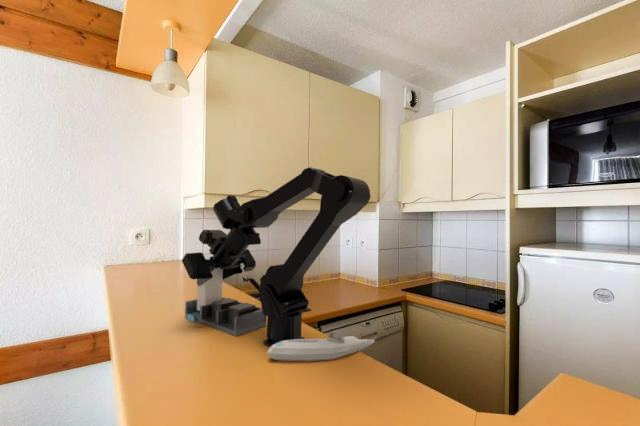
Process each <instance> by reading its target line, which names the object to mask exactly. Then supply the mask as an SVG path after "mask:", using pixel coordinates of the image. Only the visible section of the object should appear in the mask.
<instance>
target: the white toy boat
mask: <svg viewBox="0 0 640 426" xmlns="http://www.w3.org/2000/svg"><path fill="white" fill-rule="evenodd" d="M334 334H335V335H337V336H333V335H334ZM375 342H376V340H375V339H365V338H364V339H359V338H358V337H356V336H353V335H352V336H351V335H350V336H343V335H342V333H341V332H340V331H339V330H332V331H331V332H329V335H328V337H326V338H305V339H292V340H284V341H281V342H278V343H276V344H273V345H272V346H270V347H268V348H269V349H268V350H267V351H266V353H267V354H268V356H269V358H271V359H272V360H276V361H279V362H317V361H330V360H331V361H332V360H335V359H339V358H342V357H346V356H348V355H351V354H353V353H356V352H359V351H361V350H363V349H366V348H368V347H370V346H372V345H373V344H375Z"/></svg>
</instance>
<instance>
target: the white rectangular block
mask: <svg viewBox="0 0 640 426" xmlns="http://www.w3.org/2000/svg"><path fill="white" fill-rule="evenodd" d="M211 274H212V276H213V278H211V279H210V280H208V281H206V282H205V283H203V284H202V285H200V286H198V285H197V289H196V290H197V293H196V299H197V310H199V311H200V306H203V305H208V304H212V302H214V301H218V300H222V297H223V281H224V280H223V269H220V268H217V269H214V270H213V271H212V272H211Z"/></svg>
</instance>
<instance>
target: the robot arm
mask: <svg viewBox="0 0 640 426" xmlns="http://www.w3.org/2000/svg"><path fill="white" fill-rule="evenodd" d="M315 193H317V194H318V195H320V196H321V197H320V203H319V204H320V205H319V212H318V214H317V215H316V216H315V218H314V219H313V220H312V222H311V224H310V225H309V227H308V228H307V229H306V231H305V232H304V233H303V235H302V236H301V238H300V240H299V241H298V243H296V246H295V247H294V248H293V250H292V252H290V255H288V257H287V259H286V260H285V262H284V263H282V264H276V265H270V266H269V267H268V268H267V269H266V272H265V274H264V275H263V277H261V278H260V279H259V280H260V281H261V282H260V283H259V287H258V296H259V300H260V306H261V308H262V311H263V315H266V317H267V318H266V339H264V340H263V345H268V346H270V347H271V346H272V345H273V344H276V343H278V342H281V341H284V340H292V339H306V337H305V336H302V321H303V320H302V318H303V316H302V314H303V313H302V312H305V311H307V310H308V307H309V300H308V298H307V296H306V294H305V293H304V291H303V290H302V288H304V287H303V286H304V278H305V277H304V276H305V275H306V273H307V271H309V269H310V268H311V266H312V265H313V264H314V262H315V261H316V259H317V258H318V256H319V255H320V254H321V252H322V251H323V250H324V248H325V247H326V246H327V245H328V243H329V242H330V241H331V240H332V237H334V235H335V233H336V232H337V231H338V230H339V229H340V227H341V225H343V224H344V223H346V222H348V221H349V220H351V219H352V218H353V217H355V216H356V215H357V214H358V213H359V212H361V211H362V209H363V208H365V207H366V206H367V205H368V203H369V202H370V200H371V191H370V186H369V185H368V183H367V182H366V181H365V180H364V179H359V178H355V177H352V176H348V175H342V174H340V175H333V174H331V173H329V172H326V171H325V170H323V169H320V168H315V167H307V168H304V169H303V170H302V171H301V173H299V174H298V175H297V176H295V177H293V178H292V179H290V180H289V181H287V182H286V183H284V184H282V186H280V187H278V188H276V189H275V190H274V191H272V192H271V193H269V194H268V195H266V196H262V197H260V198H254V199H251V200H249V201H246V202H243V203H242V204H241V205H240V203H239V200H238V198H237V197H236V195H233V194H231V195H230V194H229V195H227V196H226V198H223V199H220V200H219V201H217V202H215V203H214V205H213V207H212V208H213V209H212V210H213V212H214V214H215V216H216V217H217V219H218V222H219V223H220V224H221V226H222V228H223V229H225V230H230V231H228V233H226V232H224V231H223V230H221V229H203V230H202V231H201V232H200V234H199V236H198V240H199V242H200V243H201V244H203V245H207V246H208V247H209V248H210V249H209V250H208V251H209V254H210V255H212V256H210V257H209V259H206V257H205V254H203V252H187V253H185V254H184V256H183V258H182V260H181V262H182V264H183V267H184V268H185V271H186V272H187V273H186V274H187V275H188V277H189V278H190V279H191V280H196V285H197V287H198V286H200V285H202V284H203V283H205V282H206V281H208V280H210V279H211V278H213V276H212V274H211V272H212V271H213V270H214V269H217V268H220V269H223V281H225V280H227V279H229V278H232V277H234V276H237V275H240V274H242V273H243V272H250V271H252V272H253V270H254V269H255V268H256V265H257V262H256V259H255V258H254V257H253V255H252V252H251V251H250V249H248V247H249V246H255V245H256V246H257V245H261V244H262V242H261V240H262V239H261V237H260V232H257V231H256V229H266V228H268V227H270V226H271V225H273V224H274V223H275V222H276V221H277V220H278V218H279V215H280V214H281V213H282V212H284V211H286V210H287V209H288V208H290V207H292V206H294V205H295V204H297V203H299V202H301V201H302V200H304V199H306V198H307V197H309V196H311V195H312V194H315ZM242 265H243V268H242ZM286 303H287V304H286ZM283 304H284V305H283Z"/></svg>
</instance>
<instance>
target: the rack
mask: <svg viewBox="0 0 640 426" xmlns="http://www.w3.org/2000/svg"><path fill="white" fill-rule="evenodd" d="M184 307H185V309H184V310H185V311H184V318H186V320H187V321H190V322H191V323H198V324H202V325H205V326H208V327H210V328H212V329H216V330H218V331H221V332H223V333H226V334H228V335H230V336H231V335H232V336H234V337H238V336H241V335H243V334H246V333H250V332H253V331H256V330H258V329H261V328H264V327H267V316H266V315H263V311H262V306H261V307H260V306H256V305H255V304H252V303H249V302H242V301H239V300H238V299H234V298H231V297H228V298H227V297H223V296H222V300H218V301H214V302H212V304H208V305H203V306H200V311H199V310H197V298H196V299H191V300H185V306H184Z"/></svg>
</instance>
